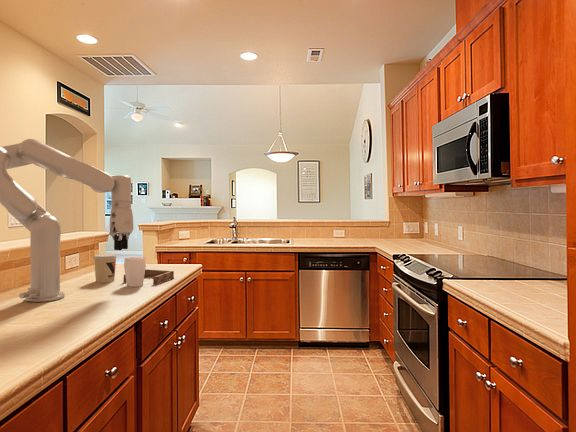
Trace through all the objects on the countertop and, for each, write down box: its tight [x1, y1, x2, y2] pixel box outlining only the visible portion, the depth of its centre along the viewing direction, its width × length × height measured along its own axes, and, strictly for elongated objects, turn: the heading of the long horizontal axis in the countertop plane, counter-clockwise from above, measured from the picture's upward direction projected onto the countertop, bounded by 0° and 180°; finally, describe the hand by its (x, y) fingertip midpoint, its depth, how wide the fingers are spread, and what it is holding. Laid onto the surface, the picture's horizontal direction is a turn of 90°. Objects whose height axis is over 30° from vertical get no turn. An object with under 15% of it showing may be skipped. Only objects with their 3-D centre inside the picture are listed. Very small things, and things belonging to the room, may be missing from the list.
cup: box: [123, 256, 147, 288], centre depth 175 cm, size 9×9×12 cm
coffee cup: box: [93, 253, 117, 284], centre depth 183 cm, size 9×9×12 cm
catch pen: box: [123, 268, 175, 286], centre depth 187 cm, size 16×16×4 cm
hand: (121, 249), depth 165 cm, fingers open, 3 cm apart
